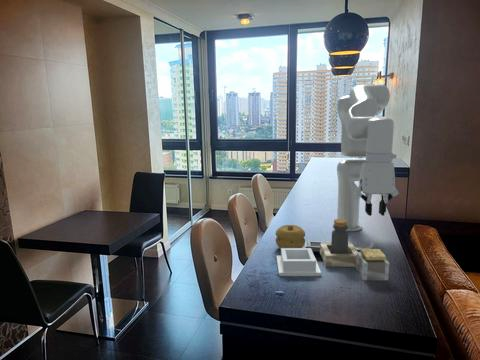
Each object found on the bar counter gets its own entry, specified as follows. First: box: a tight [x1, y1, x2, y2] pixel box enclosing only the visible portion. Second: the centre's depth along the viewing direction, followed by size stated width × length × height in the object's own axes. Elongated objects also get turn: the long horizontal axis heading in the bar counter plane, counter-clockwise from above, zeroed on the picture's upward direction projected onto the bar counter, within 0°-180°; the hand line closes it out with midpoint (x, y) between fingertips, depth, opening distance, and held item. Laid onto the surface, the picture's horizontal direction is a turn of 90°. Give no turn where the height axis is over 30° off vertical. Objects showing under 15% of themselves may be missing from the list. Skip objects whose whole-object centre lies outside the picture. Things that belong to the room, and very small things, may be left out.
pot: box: [275, 224, 306, 250], centre depth 139 cm, size 12×12×10 cm
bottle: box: [330, 218, 349, 254], centre depth 128 cm, size 6×6×15 cm
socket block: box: [319, 242, 390, 281], centre depth 124 cm, size 22×18×6 cm
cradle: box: [276, 247, 322, 277], centre depth 124 cm, size 14×14×5 cm
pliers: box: [348, 239, 374, 253], centre depth 139 cm, size 10×2×15 cm
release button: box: [360, 248, 387, 262], centre depth 117 cm, size 6×6×6 cm
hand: (375, 213), depth 113 cm, fingers open, 3 cm apart
